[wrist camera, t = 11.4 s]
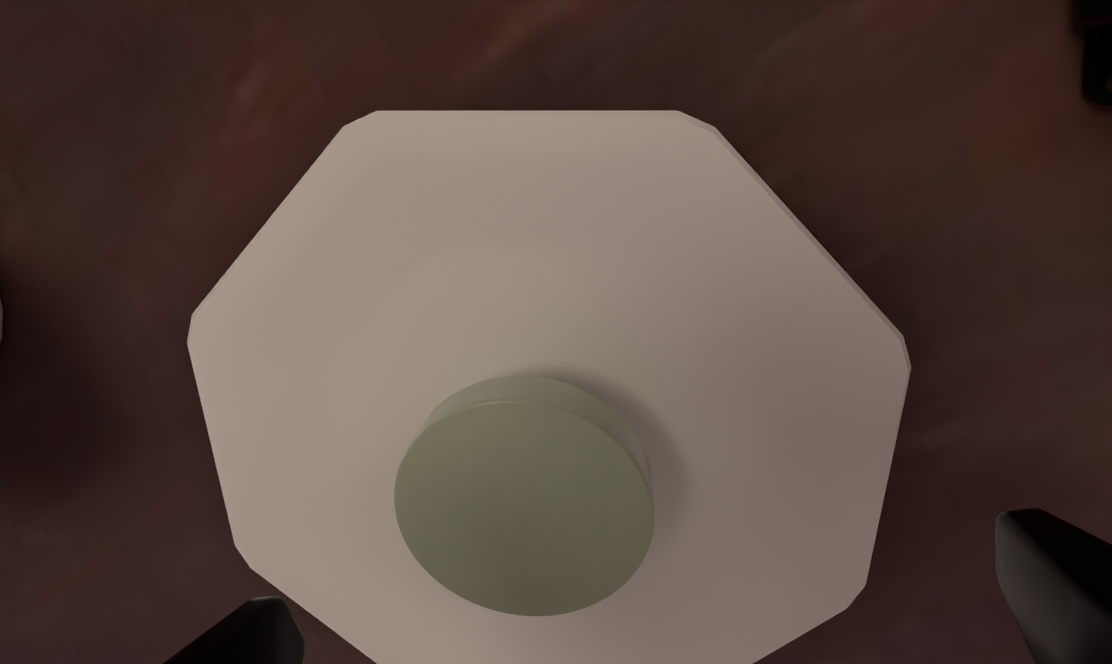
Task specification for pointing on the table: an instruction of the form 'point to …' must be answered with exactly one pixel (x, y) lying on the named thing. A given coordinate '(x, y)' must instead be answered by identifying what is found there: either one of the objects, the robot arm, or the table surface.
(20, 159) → the table surface
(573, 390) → the green cylinder
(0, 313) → the mug
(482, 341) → the plate
